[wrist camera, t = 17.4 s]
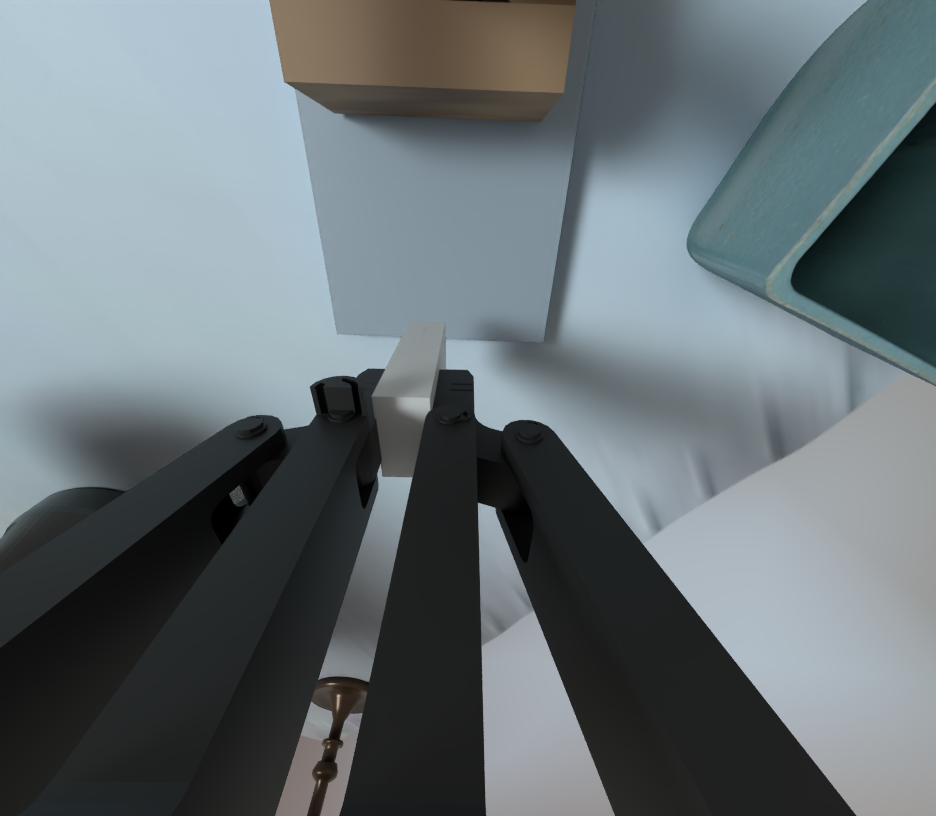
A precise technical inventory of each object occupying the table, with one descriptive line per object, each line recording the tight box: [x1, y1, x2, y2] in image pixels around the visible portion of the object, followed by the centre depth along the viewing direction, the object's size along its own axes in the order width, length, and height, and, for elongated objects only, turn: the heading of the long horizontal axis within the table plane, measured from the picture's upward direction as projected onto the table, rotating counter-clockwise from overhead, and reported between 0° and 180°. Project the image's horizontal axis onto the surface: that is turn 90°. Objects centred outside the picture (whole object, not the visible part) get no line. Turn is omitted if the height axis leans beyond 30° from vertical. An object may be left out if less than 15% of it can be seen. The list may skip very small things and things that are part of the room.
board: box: [295, 0, 597, 343], centre depth 12 cm, size 11×19×4 cm, turn 178°
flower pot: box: [687, 0, 936, 386], centre depth 12 cm, size 9×9×9 cm
